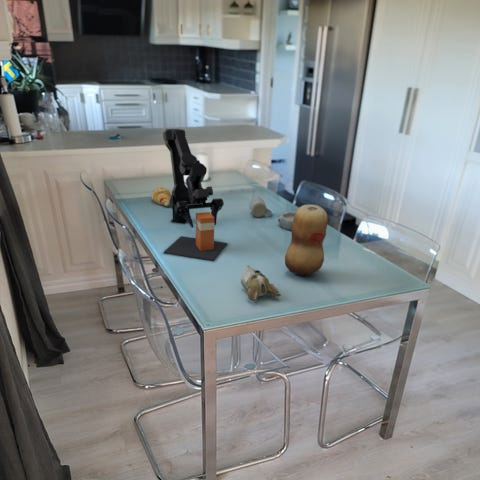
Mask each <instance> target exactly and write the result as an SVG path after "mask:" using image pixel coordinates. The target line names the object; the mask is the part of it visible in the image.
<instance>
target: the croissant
mask: <svg viewBox="0 0 480 480" xmlns="http://www.w3.org/2000/svg"><path fill="white" fill-rule="evenodd" d="M171 196H172V192H171V191H170V190H169V189H167V188H165V187H158V188H156V189H154V190H153V191H152V193H151V196H150V197H151V198H150V199H151V200H152V202H154V203H155V204H159V205H160V206H164V207H170V203H169V201H170V198H171Z"/></svg>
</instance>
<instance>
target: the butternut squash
mask: <svg viewBox="0 0 480 480" xmlns="http://www.w3.org/2000/svg"><path fill="white" fill-rule="evenodd" d="M294 212H295V215H294V219H293V223H292V230H291V240H290V243H289V246H288V247H287V250H286V252H285V255H284V264H285V267H286V268H287V270H289V272H290V273H293V274H295V275H299V276H301V277H308V276H310V275H313V274H315V273H317V272H319V270H321V268H322V267H323V264H324V262H325V251H324V246H323V245H324V244H323V243H324V240H325V239H326V235H327V228H328V221H329V220H328V219H329V218H328V213H327V212H326V210H325V209H324V208H323V207H321V206H320V205H317V204H304V205H303V204H302V205H301V206H299V207H298V208H297V210H296V211H294Z"/></svg>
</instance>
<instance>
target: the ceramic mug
mask: <svg viewBox="0 0 480 480" xmlns="http://www.w3.org/2000/svg"><path fill="white" fill-rule="evenodd" d="M248 207H249V210H250V213H251V214H252V215H253V216H254V217H256V218H262V217H264V216H265V215H266V216H268V217H271V216H272V215H273V211H272V210H270V209H269V208H267V205H266V202H265V200H264V199H263V198H262V197H259V196H255V197H253V198H251V200H250V201H249V204H248Z"/></svg>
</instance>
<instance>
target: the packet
mask: <svg viewBox="0 0 480 480" xmlns="http://www.w3.org/2000/svg"><path fill="white" fill-rule="evenodd" d="M195 238H196V245H197V247H198V248H199V249H200V251H203V250H212V249H214V241H215V225H214V217H213V216H212V215H211V211H207V212H196V213H195Z"/></svg>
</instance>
